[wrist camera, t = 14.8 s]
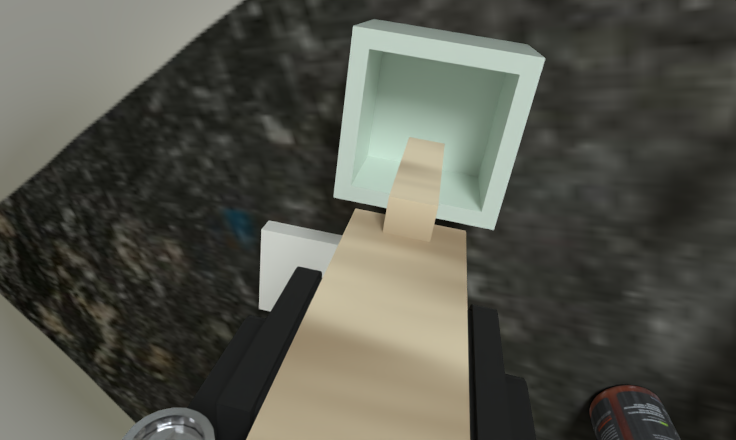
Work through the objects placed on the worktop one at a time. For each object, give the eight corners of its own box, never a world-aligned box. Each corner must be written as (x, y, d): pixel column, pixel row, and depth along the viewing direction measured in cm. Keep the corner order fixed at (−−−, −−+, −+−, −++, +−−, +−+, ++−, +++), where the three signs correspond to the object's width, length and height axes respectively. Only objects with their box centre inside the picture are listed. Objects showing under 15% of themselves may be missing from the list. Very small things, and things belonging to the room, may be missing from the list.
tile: (369, 333, 40) (258, 308, 41) (373, 318, 42) (267, 295, 43) (383, 254, 37) (261, 229, 38) (387, 241, 38) (270, 218, 39)
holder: (487, 187, 34) (493, 229, 28) (355, 161, 35) (333, 197, 29) (527, 44, 30) (545, 57, 24) (374, 19, 31) (353, 26, 25)
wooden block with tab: (440, 273, 18) (392, 926, 5) (363, 256, 18) (152, 842, 6) (472, 148, 15) (515, 795, 3) (382, 131, 16) (96, 665, 3)
